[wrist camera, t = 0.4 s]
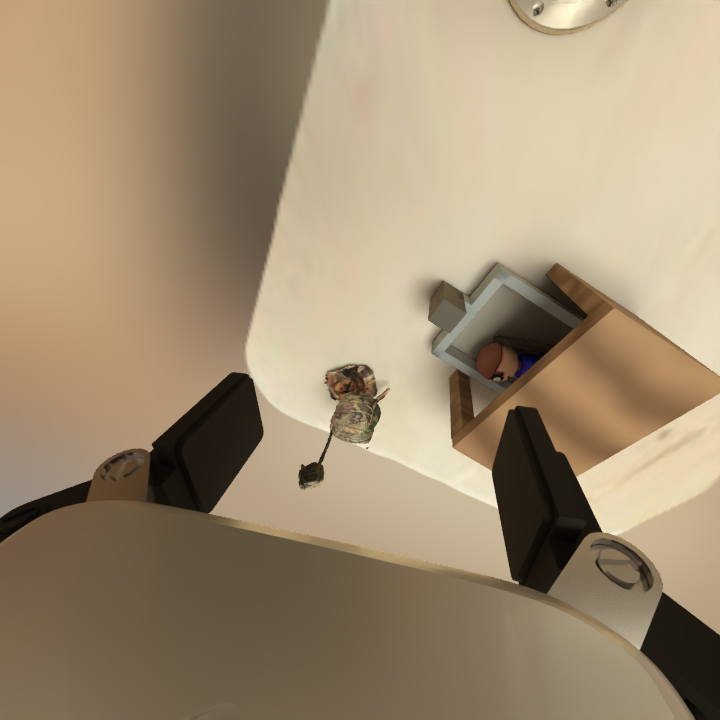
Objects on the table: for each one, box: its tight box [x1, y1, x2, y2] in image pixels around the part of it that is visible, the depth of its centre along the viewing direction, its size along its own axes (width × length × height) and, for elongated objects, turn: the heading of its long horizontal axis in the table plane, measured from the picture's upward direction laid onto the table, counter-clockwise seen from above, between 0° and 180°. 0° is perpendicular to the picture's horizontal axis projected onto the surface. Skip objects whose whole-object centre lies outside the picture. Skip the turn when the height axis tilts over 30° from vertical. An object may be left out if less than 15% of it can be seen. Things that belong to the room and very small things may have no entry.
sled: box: [428, 263, 585, 395], centre depth 39 cm, size 13×26×7 cm, turn 61°
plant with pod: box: [299, 365, 390, 490], centre depth 43 cm, size 8×11×20 cm
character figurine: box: [476, 335, 554, 382], centre depth 39 cm, size 8×7×15 cm
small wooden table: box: [449, 263, 720, 477], centre depth 36 cm, size 20×12×15 cm, turn 151°
